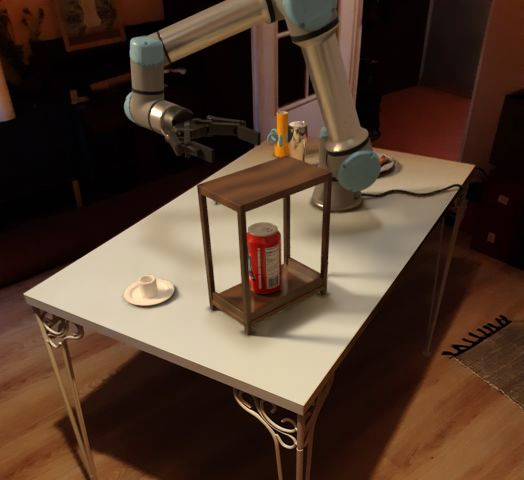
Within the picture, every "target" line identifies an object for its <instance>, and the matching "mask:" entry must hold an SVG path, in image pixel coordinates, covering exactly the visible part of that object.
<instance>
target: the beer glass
mask: <svg viewBox="0 0 524 480" xmlns="http://www.w3.org/2000/svg"><path fill="white" fill-rule="evenodd" d="M287 141H288V148H289V154H290V157H293V158H296V159H298V160H301V161H304V162H306V151H307V146H308V141H309V130H308V123H307V122H306V121H303V120H294V121H290V122H288V131H287Z"/></svg>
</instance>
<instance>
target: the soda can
mask: <svg viewBox="0 0 524 480" xmlns="http://www.w3.org/2000/svg"><path fill="white" fill-rule="evenodd" d="M247 247H248V266H249V285H250V290H252V291H253V292H255V293H259V294H270V293H273V292H275V291H277V290H279V289H280V287H281V285H282V264H283V263H282V234H281V232H280V231H279V227H278V226H277V224H274V223H271V222H266V221H265V222H264V221H263V222H256V223H255V222H254V223H253V224H250V225H249V226H248V228H247Z"/></svg>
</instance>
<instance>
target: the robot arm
mask: <svg viewBox="0 0 524 480" xmlns="http://www.w3.org/2000/svg"><path fill="white" fill-rule="evenodd" d="M337 7H338V0H223V1H222V2H219V3H217V4H214V5H212V6H209V7H208V8H205V9H204V10H201V11H199V12H197V13H194V14H193V15H191V16H188V17H186V18H183V19H182V20H180V21H176V22H175V23H173V24H171V25H168V26H166V27H164V28H162V29H160V30H158V31H156V32H153V33H150V34H149V35H141V36H135V37H132V38H131V39H130V41H129V58H130V59H129V60H130V75H131V92H129V94H127V95H126V97H125V101H124V104H123V109H124V114H125V116H126V117H127V118H128V119H129V120H130V121H131V122H133V123H134V124H136V125H137V126H139V127H141V128H145V129H147V130H150V131H153V132H155V133H157V134H159V135H162V136H164V140H165V141H164V142H166V143H168V144H169V145H170V147H171V148H172V150H173V152H174V153H175V155H176V157H182V156H183V154H184V158H185V159H190V158H191V156H194V157H195V158H196V157H197V158H199V159H201V160H202V161H203V160H204V161H206V162H208V163H209V164H215V161H216V158H215V149H214V148H211V147H209V146H207V145H204V144H201V143H199V142H197V141H195V140H197V139H200V138H202V137H203V138H212V137H213V136H231V137H233V136H235V137H237V139H240V140H241V141H244V142H247V143H249V144H253V145H254V146H257V147H258V146H261V132H259V131H257V130H254V129H253V128H249V127H247V121H246V120H242V119H232V118H225V117H217V116H214V115H210V114H208V115H206V119H201V118H198V117H196V115H195V114H194V112H193V111H192V110H190V109H189V108H186V107H183V106H181V105H178V104H176V103H173V102H170V101H167V100H165V67H166V66H169V65H170V64H172V63H174V62H176V61H178V60H181V59H183V58H186V57H188V56H190V55H192V54H195V53H197V52H200V51H201V50H203V49H206V48H208V47H210V46H213V45H215V44H217V43H219V42H221V41H224V40H226V39H228V38H231V37H233V36H235V35H237V34H240V33H242V32H244V31H246V30H249V29H251V28H253V27H256V26H258V25H260V24H263V23H265V24H267V25H271V24H274V23H276V22H280V21H282V20H284V21H285V23H286V26H287V30H288V32H289V35H290V40H291V43H293V44H295V45H296V46H298V47H300V50H301V53H302V56H303V59H304V62H305V65H306V69H307V72H308V76H309V78H310V82H311V85H312V88H313V91H314V94H315V98H316V101H317V104H318V107H319V110H320V114H321V117H322V121H323V123H324V126H322V127H321V128H320V131H319V137H318V140H319V144H318V145H319V146H318V148H319V149H318V152H319V154H318V167H320V168H323V169H326V170H328V171H331V172H332V191H331V212H334V213H342V212H349V211H353V210H355V209H357V208H359V207H360V206H361V205H362V200H363V197H369V198H370V197H371V198H380V197H383V196H385V195H388V194H391V193H402V194H407V195H411V196H415V197H428V196H433V195H435V194H439V193H443V192H446V191H448V190H450V189H452V188H460V189H461V190H463V189H465V188H464V186H463V185H462V184H460V183H453V184H450V185H448V186H446V187H443V188H441V189H436V190H433V191H430V192H422V193H421V192H413V191H409V190H405V189H399V188H398V189H389V190H386V191H384V192H381V193H376V194H375V193H374V194H373V193H365V192H364V193H362V191H365V190H366V189H369V188H370V187H371V186H372V185H373V184H374V183H375V182H376V181H377V179H378V177H379V176H380V173H381V172H380V169H381V164H380V160H379V158H378V156H377V154H376V153H374V152H373V151H374V150H373V145H372V141H371V137H370V134H369V131H368V129H367V128H364V127H363V126H361V124H360V119H359V116H358V113H357V108H356V106H355V105H356V104H355V100H354V97H353V93H352V90H351V86H350V82H349V79H348V75H347V70H346V68H345V64H344V60H343V56H342V52H341V48H340V45H339V41H338V37H337V33H336V32H337V30H338V28H339V26H340V18H339V15H338V10H337ZM207 129H208V131H207ZM313 188H314V189H313V191H312V193H311V194H312V195H311V203H312V205H313V206H314V207H315V208H318V209H319V210H321V211H323V192H324V183H321V184H319V185H316V186H314V187H313Z"/></svg>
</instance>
